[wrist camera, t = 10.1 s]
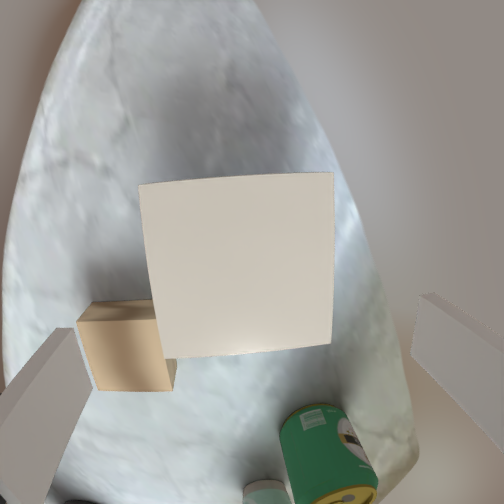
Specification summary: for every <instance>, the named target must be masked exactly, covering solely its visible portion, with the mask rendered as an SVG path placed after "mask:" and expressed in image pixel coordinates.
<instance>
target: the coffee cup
mask: <svg viewBox="0 0 504 504" xmlns="http://www.w3.org/2000/svg"><path fill="white" fill-rule="evenodd" d="M243 504H292V503H291V501H290V498H289V496H288V493H287V491H286V488H285V486H284V484H283V483H282V482H280V481H277V480H259V481H255V482H253V483H250V484H249V485H247V486H246V487H245V488H244V490H243Z"/></svg>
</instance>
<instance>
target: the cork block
mask: <svg viewBox="0 0 504 504" xmlns="http://www.w3.org/2000/svg"><path fill="white" fill-rule="evenodd" d="M76 323H77V327H78V330H79V334H80V337H81V341H82V344H83V347H84V350H85V353H86V357H87V360H88V363H89V366H90V369H91V371H92V374H93V377H94V380H95V383H96V386H97V388H98V391H129V392H163V391H173V387H174V381H175V375H176V369H177V362H176V359H164V355H163V350H162V345H161V341H160V336H159V331H158V325H157V320H156V315H155V309H154V304H153V299H150V300H132V301H112V302H92V303H91V304H90V306H89V307H88V308H87V309H86V310H85V312H84V313H83V314H82V315H81V316H80V318H79V319H78V320H77V321H76Z"/></svg>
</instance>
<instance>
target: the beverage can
mask: <svg viewBox="0 0 504 504" xmlns="http://www.w3.org/2000/svg"><path fill="white" fill-rule="evenodd" d="M280 443H281V447H282V451H283V455H284V460H285V464H286V468H287V472H288V476H289V480H290V484H291V489H292V493H293V497H294V501H295V504H372V502H373V501H374V500H375V499H376V496H377V491H376V490H377V486H378V478H377V476H376V474H375V472H374V470H373V468H372V466H371V464H370V462H369V460H368V458H367V456H366V454H365V452H364V450H363V448H362V446H361V444H360V441H359V439H358V437H357V435H356V433H355V431H354V429H353V427H352V425H351V423H350V421H349V419H348V417H347V416H346V414H345V413H344V412H343V411H342V410H340V409H338V408H336V407H334V406H332V405H329V404H313V405H309V406H305V407H303V408H301V409H299V410H297V411H295V412H294V413H292V414H291V415H290V416H289V417H288V418H287V419H286V421H285V422H284V424H283V427H282V430H281V432H280Z"/></svg>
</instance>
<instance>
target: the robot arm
mask: <svg viewBox="0 0 504 504" xmlns="http://www.w3.org/2000/svg"><path fill="white" fill-rule="evenodd" d="M410 355H411V356H412V357H413V358H414V359H415V360H416V361H417V362H418V363H419V364H420V365H421V366H422V367H423V368H424V369H425V370H426V371H427V372H428V373H429V374H430V375H431V376H432V377H433V379H434V380H435V381H436V382H437V383H438V384H439V385H440V386H441V387H442V388H443V389H444V390H445V391H446V392H447V393H448V394H449V395H450V396H451V397H452V398H453V399H454V400H455V401H456V402H457V404H459V406H460V407H461V408H462V409H463V410H464V411H465V412H466V413H467V414H468V415H469V416H470V417H471V418H472V419H473V421H474V422H476V424H477V425H478V426H479V427H480V428H481V429H482V430H483V431H484V432H485V434H487V436H488V437H489V438H490V439H491V440H492V441H493V442H494V443H495V444H496V446H497V447H498V448H499V449H500V450H501V451H502V452H503V454H504V338H503V337H502V336H500V335H499V334H498V333H496V332H495V331H493V330H492V329H490V328H489V327H487V326H486V325H484V324H483V323H481V322H479V321H478V320H476V319H475V318H473V317H472V316H470V315H469V314H467V313H466V312H464V311H463V310H461V309H459V308H458V307H456V306H455V305H453V304H452V303H450V302H448V301H447V300H445V299H444V298H442V297H440V296H439V295H437V294H436V293H428V294H423V295H419V303H418V310H417V317H416V323H415V329H414V336H413V341H412V347H411V352H410ZM92 389H93V387H92V384H91V381H90V378H89V376H88V373H87V370H86V367H85V364H84V361H83V358H82V355H81V352H80V348H79V345H78V342H77V338H76V335H75V332H74V328H56V329H55V330H54V331H53V333H52V334H51V335H50V336H49V337H48V338H47V339H46V341H45V342H44V343H43V344H42V345H41V346H40V348H39V349H38V350H37V351H36V352H35V353H34V355H33V356H32V357H31V358H30V359H29V361H28V362H27V363H26V364H25V365H24V367H23V368H22V369H21V370H20V371H19V373H18V374H17V375H16V376H15V378H14V379H13V380H12V381H11V383H10V384H9V385H8V386H7V388H6V389H5V390H4V392H3V393H1V394H0V504H5V503H6V502H7V503H8V504H44V501H45V499H46V496H47V493H48V491H49V488H50V486H51V483H52V480H53V478H54V475H55V473H56V470H57V468H58V466H59V463H60V461H61V458H62V456H63V454H64V451H65V449H66V446H67V444H68V442H69V440H70V437H71V435H72V433H73V430H74V428H75V426H76V424H77V421H78V419H79V417H80V415H81V413H82V411H83V408H84V406H85V404H86V402H87V400H88V398H89V396H90V394H91V391H92ZM64 504H94V503H90V502H85V501H76V500H73V501H67V502H65V503H64Z"/></svg>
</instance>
